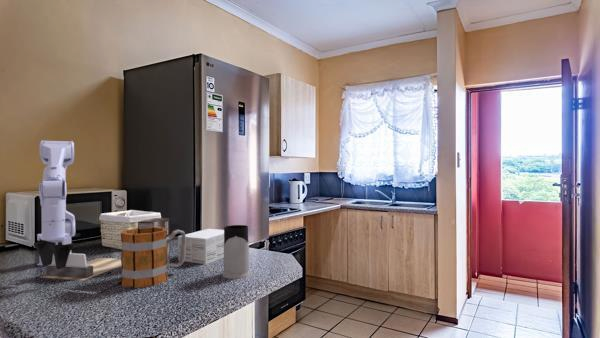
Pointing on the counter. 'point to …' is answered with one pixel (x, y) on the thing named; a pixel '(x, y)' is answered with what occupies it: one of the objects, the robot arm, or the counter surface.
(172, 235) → the mug
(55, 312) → the counter surface
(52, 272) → the board
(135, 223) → the storage basket
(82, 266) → the plate
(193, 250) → the supplement box
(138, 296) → the counter surface
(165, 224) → the coffee box
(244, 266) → the glass holder
